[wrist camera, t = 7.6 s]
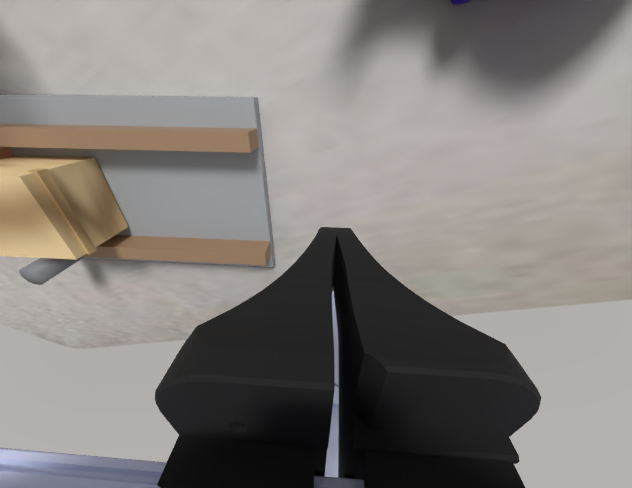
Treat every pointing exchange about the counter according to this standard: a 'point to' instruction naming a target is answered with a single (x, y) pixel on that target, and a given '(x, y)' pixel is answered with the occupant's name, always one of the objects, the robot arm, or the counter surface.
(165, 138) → the bay
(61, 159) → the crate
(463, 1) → the toy
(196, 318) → the counter surface
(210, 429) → the robot arm
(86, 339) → the counter surface
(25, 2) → the counter surface
